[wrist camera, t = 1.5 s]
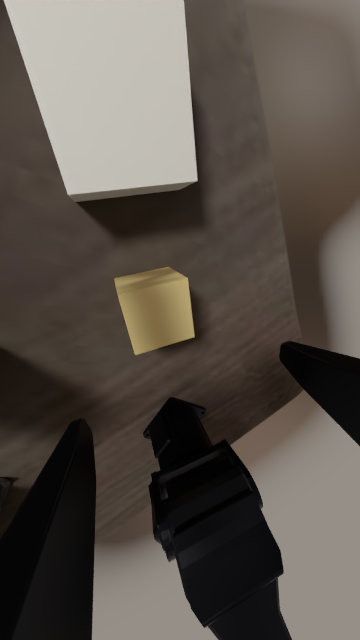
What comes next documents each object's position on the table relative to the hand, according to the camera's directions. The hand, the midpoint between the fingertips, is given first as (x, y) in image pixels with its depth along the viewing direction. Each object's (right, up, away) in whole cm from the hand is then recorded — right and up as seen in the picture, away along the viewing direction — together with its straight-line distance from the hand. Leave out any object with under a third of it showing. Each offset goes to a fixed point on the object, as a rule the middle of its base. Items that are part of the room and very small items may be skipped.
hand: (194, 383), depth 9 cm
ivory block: (-5, +16, +5) cm, 18 cm away
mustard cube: (-4, +5, +11) cm, 12 cm away
